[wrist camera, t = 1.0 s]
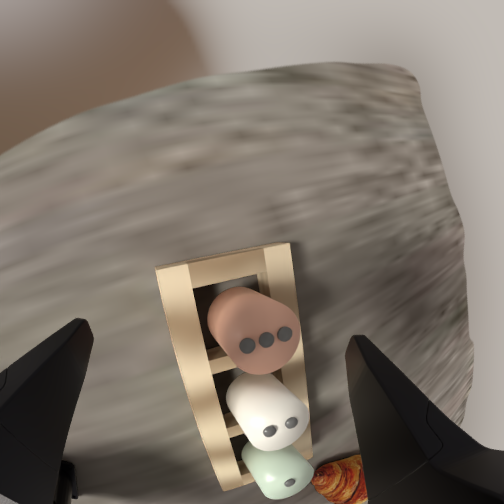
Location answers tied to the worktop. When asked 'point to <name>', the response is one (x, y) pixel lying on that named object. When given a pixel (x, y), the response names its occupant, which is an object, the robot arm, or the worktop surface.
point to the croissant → (341, 481)
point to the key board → (216, 359)
